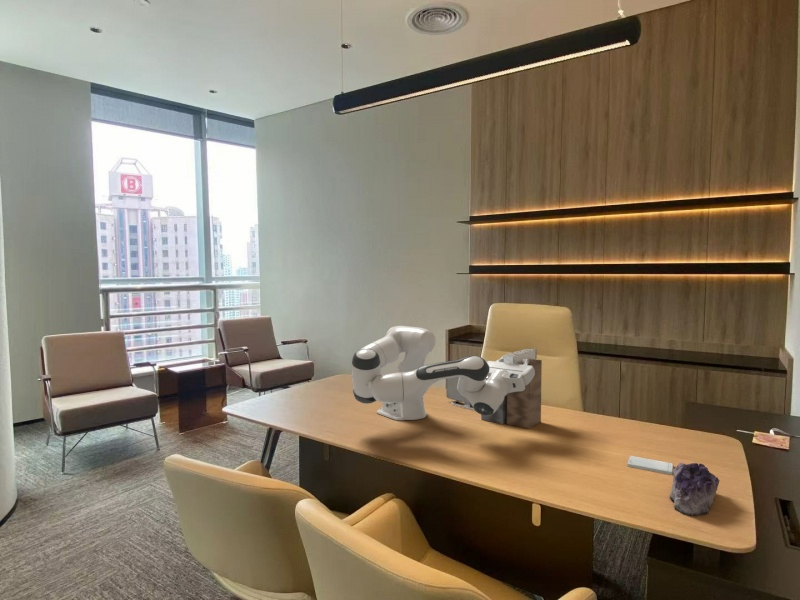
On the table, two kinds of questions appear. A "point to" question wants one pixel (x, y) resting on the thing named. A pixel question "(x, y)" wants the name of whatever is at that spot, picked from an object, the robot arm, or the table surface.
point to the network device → (456, 393)
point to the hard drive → (650, 465)
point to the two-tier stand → (521, 403)
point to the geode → (693, 489)
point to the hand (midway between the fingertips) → (515, 358)
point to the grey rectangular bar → (520, 356)
